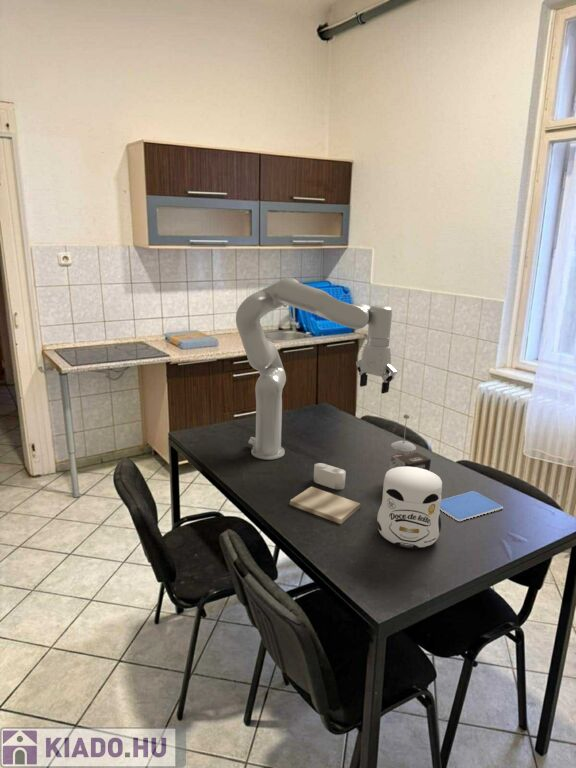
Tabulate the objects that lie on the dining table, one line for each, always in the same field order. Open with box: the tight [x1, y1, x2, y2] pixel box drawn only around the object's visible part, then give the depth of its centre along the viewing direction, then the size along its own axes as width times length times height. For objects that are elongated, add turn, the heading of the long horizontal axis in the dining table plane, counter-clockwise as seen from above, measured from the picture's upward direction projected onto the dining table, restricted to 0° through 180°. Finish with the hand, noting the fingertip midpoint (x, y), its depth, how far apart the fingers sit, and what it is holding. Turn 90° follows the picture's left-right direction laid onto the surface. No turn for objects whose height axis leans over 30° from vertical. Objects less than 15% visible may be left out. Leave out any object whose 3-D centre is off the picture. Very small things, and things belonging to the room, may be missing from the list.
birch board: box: [289, 486, 361, 525], centre depth 165 cm, size 18×12×2 cm, turn 55°
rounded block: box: [313, 462, 347, 491], centre depth 179 cm, size 11×4×6 cm, turn 55°
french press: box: [388, 413, 417, 471], centre depth 179 cm, size 10×12×25 cm
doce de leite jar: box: [376, 466, 443, 550], centre depth 148 cm, size 17×17×18 cm
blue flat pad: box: [440, 490, 504, 522], centre depth 168 cm, size 19×13×1 cm, turn 118°
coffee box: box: [394, 452, 432, 471], centre depth 166 cm, size 9×6×16 cm
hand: (373, 389), depth 190 cm, fingers open, 9 cm apart
